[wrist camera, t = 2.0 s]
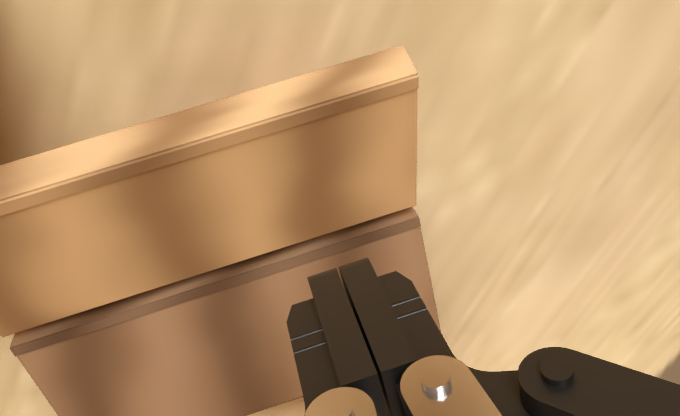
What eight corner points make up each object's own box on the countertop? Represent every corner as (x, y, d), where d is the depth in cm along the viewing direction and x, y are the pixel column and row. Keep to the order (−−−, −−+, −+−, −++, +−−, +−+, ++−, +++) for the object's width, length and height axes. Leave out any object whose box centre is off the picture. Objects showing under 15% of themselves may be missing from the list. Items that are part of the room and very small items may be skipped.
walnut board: (408, 200, 31) (418, 216, 29) (434, 330, 35) (444, 349, 34) (18, 324, 30) (9, 347, 28) (97, 442, 34) (93, 468, 33)
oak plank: (402, 44, 22) (418, 75, 22) (405, 180, 30) (416, 206, 29) (-147, 208, 21) (-153, 247, 20) (3, 307, 29) (3, 338, 28)
